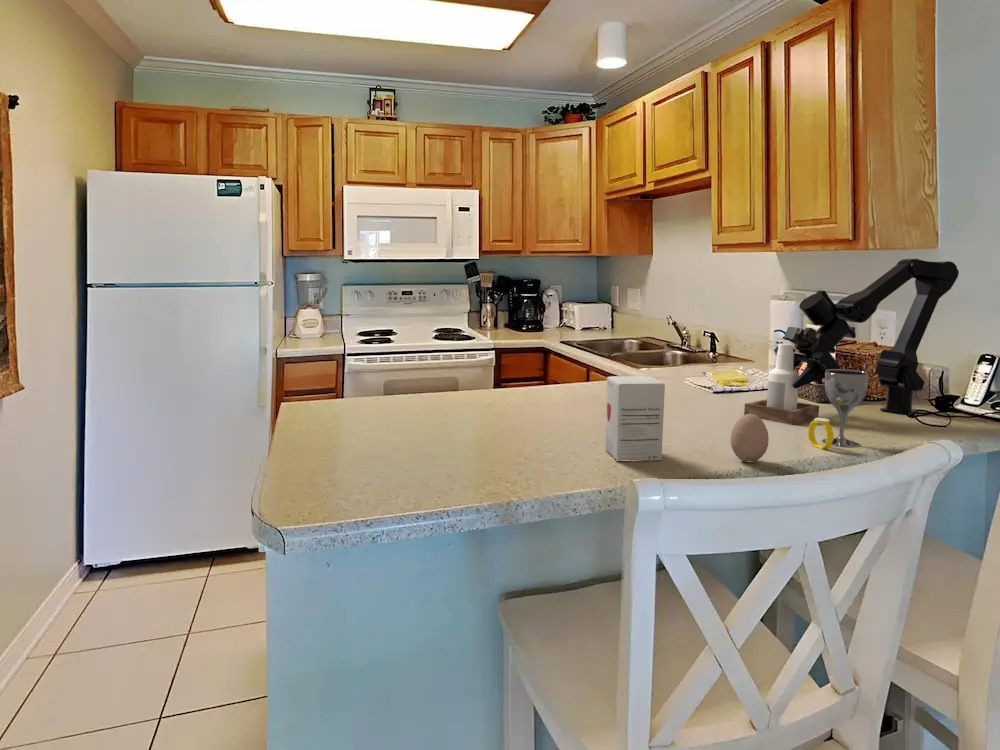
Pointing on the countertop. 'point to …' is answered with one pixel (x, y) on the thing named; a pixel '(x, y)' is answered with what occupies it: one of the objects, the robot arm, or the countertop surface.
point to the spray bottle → (783, 380)
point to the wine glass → (845, 397)
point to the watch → (828, 430)
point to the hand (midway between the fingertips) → (782, 384)
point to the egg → (749, 438)
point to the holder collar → (782, 412)
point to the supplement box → (634, 417)
